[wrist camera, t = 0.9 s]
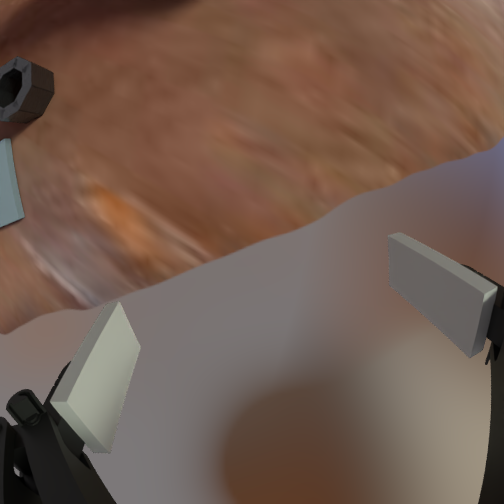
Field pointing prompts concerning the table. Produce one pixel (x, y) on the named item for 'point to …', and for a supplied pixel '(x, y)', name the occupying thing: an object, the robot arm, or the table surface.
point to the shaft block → (8, 186)
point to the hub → (24, 90)
